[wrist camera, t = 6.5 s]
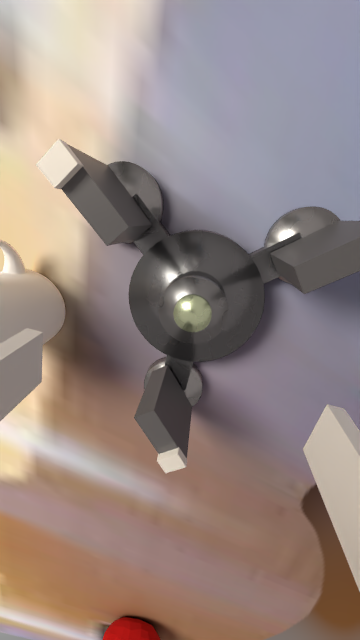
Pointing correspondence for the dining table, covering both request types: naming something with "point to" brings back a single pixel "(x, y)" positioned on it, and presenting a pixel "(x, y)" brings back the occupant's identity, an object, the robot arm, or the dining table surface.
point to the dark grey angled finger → (166, 418)
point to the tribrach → (200, 282)
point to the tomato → (130, 630)
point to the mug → (27, 299)
